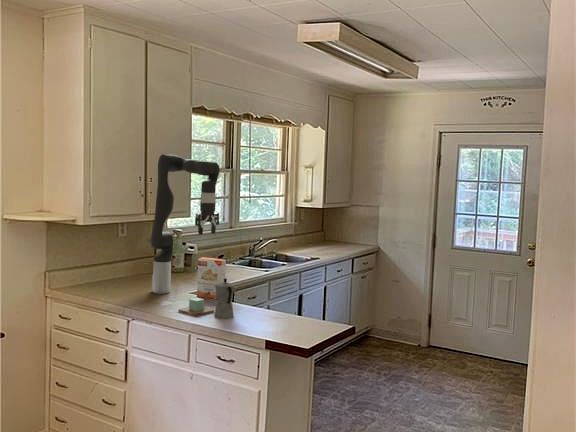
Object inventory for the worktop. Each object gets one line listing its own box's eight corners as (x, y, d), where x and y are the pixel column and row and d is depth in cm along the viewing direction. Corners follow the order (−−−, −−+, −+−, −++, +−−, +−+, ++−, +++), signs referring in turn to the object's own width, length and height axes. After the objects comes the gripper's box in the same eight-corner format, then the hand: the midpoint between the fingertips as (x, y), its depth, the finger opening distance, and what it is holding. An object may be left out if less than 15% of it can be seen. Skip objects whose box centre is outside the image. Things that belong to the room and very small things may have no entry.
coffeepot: (210, 313, 273) (211, 276, 272) (229, 312, 277) (230, 275, 276) (219, 321, 259) (221, 282, 258) (239, 320, 263) (241, 281, 261)
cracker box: (196, 297, 306) (197, 258, 304) (201, 294, 311) (202, 256, 310) (220, 299, 301) (221, 260, 300) (225, 297, 307) (226, 259, 306)
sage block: (189, 309, 274) (189, 299, 273) (196, 307, 278) (197, 297, 277) (196, 311, 271) (196, 301, 270) (204, 309, 275) (204, 299, 274)
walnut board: (178, 311, 273) (178, 309, 273) (197, 307, 283) (197, 305, 282) (195, 316, 266) (195, 314, 266) (214, 312, 275) (214, 309, 275)
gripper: (213, 200, 293) (211, 232, 294) (192, 201, 282) (191, 234, 283) (223, 202, 288) (222, 234, 290) (202, 202, 277) (201, 235, 278)
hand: (206, 234), depth 286 cm, fingers open, 8 cm apart
